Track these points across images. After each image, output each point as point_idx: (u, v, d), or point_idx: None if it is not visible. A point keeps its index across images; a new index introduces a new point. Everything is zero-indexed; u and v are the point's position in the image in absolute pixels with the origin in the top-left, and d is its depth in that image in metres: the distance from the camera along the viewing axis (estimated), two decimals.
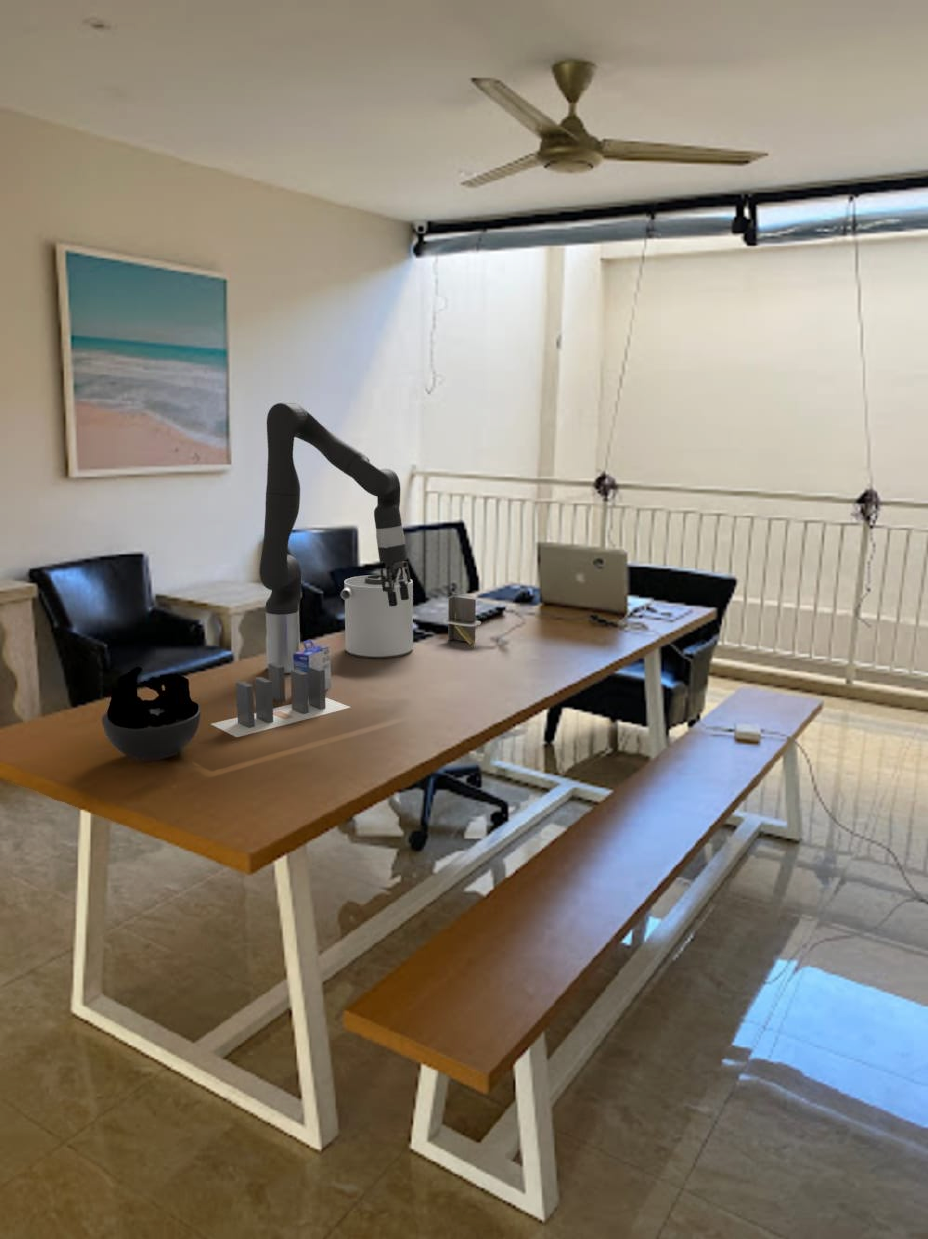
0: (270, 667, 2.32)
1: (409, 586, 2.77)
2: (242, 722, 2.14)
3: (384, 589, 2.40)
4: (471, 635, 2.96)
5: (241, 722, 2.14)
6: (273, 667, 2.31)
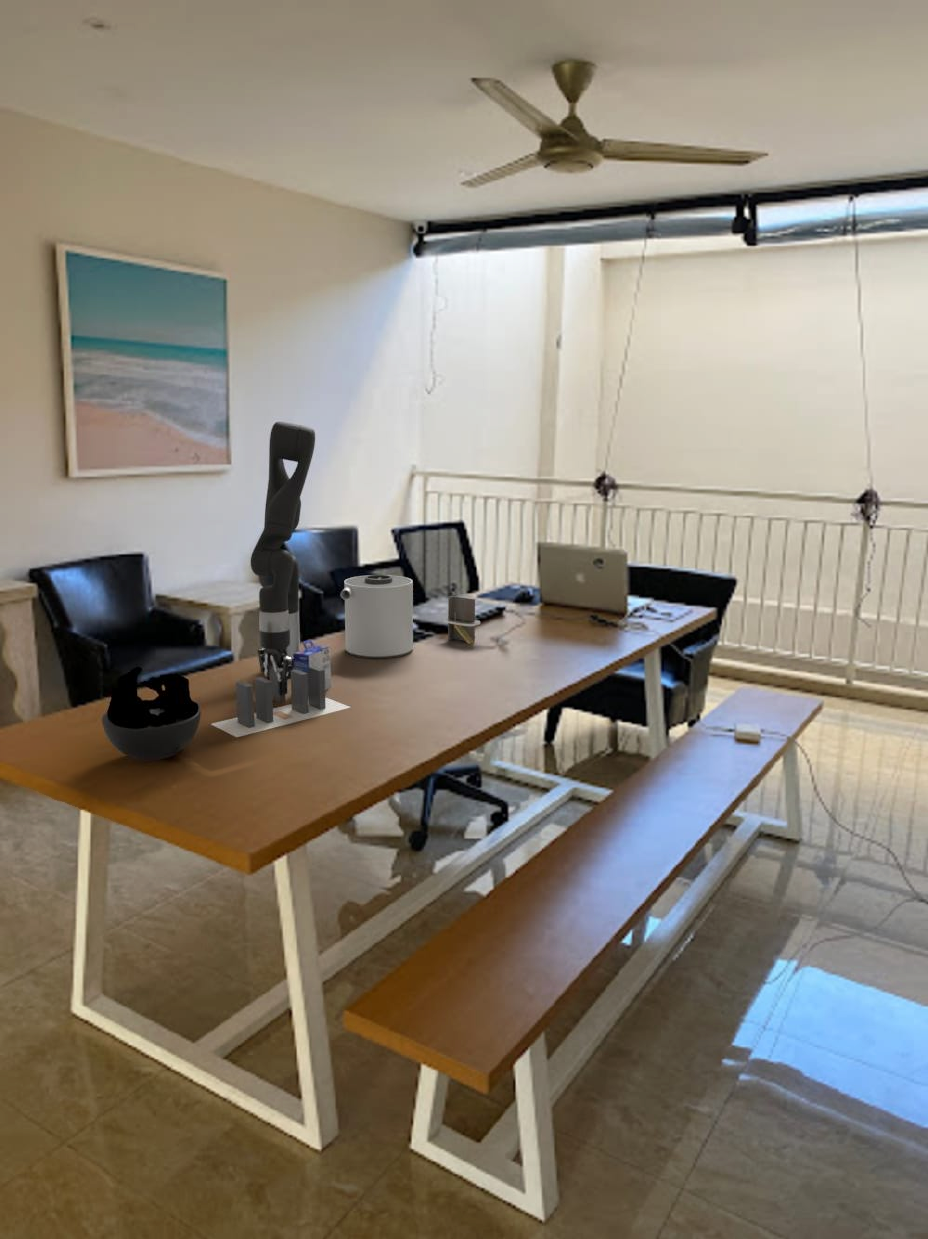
0: (270, 667, 2.32)
1: (409, 586, 2.77)
2: (242, 722, 2.14)
3: None
4: (471, 635, 2.97)
5: (241, 722, 2.14)
6: (273, 667, 2.31)
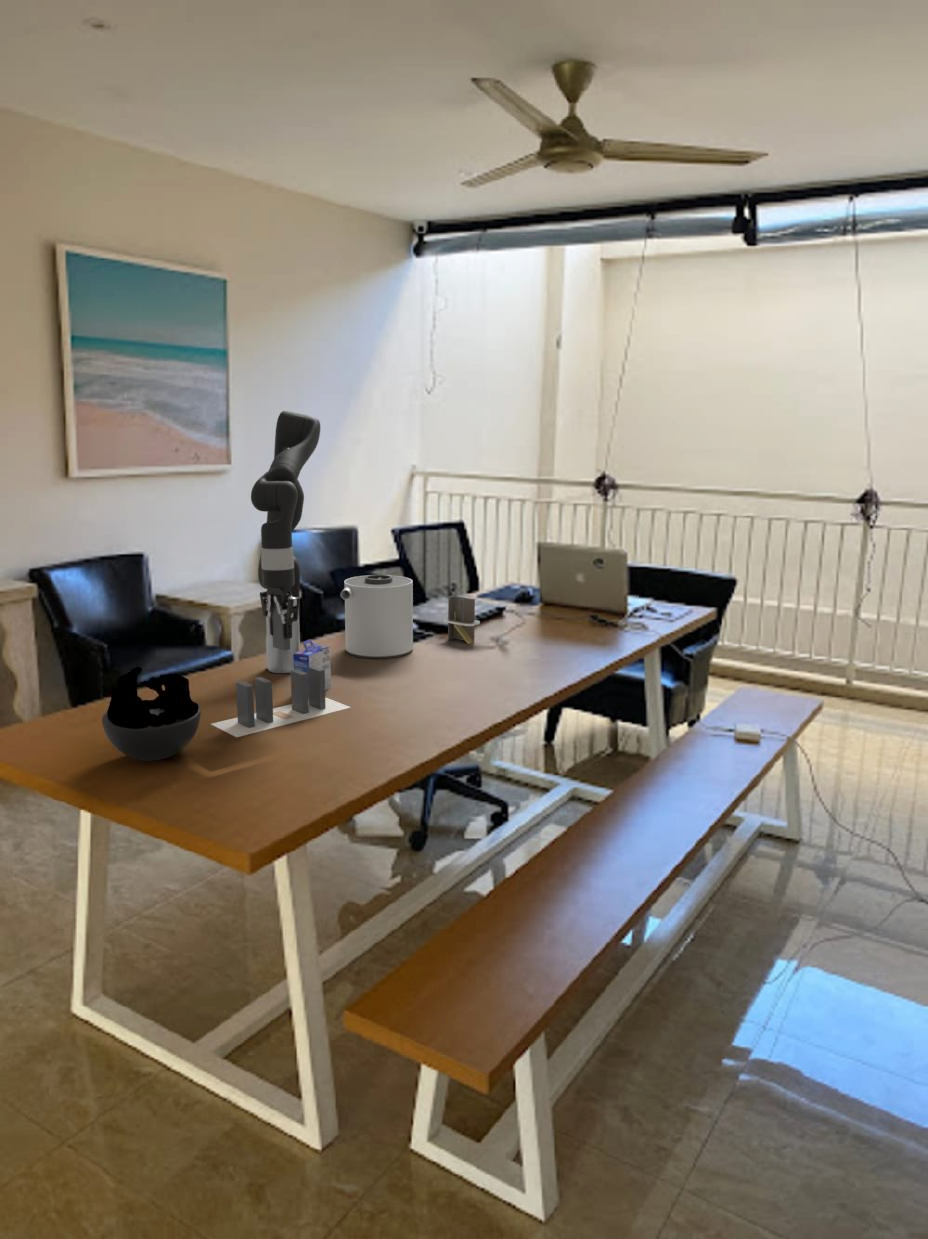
0: (273, 610, 2.17)
1: (409, 586, 2.77)
2: (242, 722, 2.14)
3: None
4: (470, 635, 2.97)
5: (241, 722, 2.14)
6: None
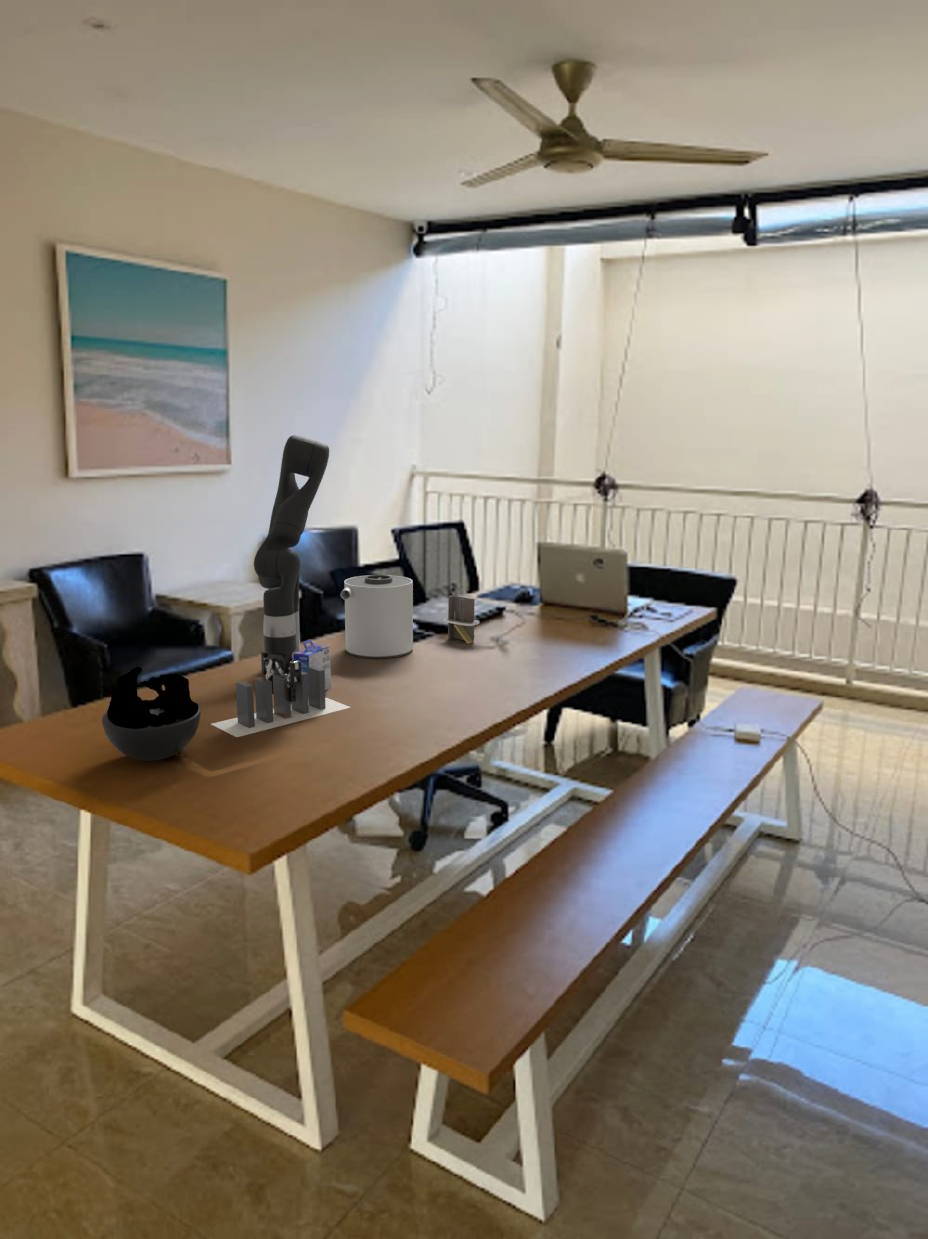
0: (275, 678, 2.19)
1: (409, 586, 2.77)
2: (242, 722, 2.14)
3: None
4: (470, 634, 2.97)
5: (241, 722, 2.14)
6: (278, 677, 2.18)
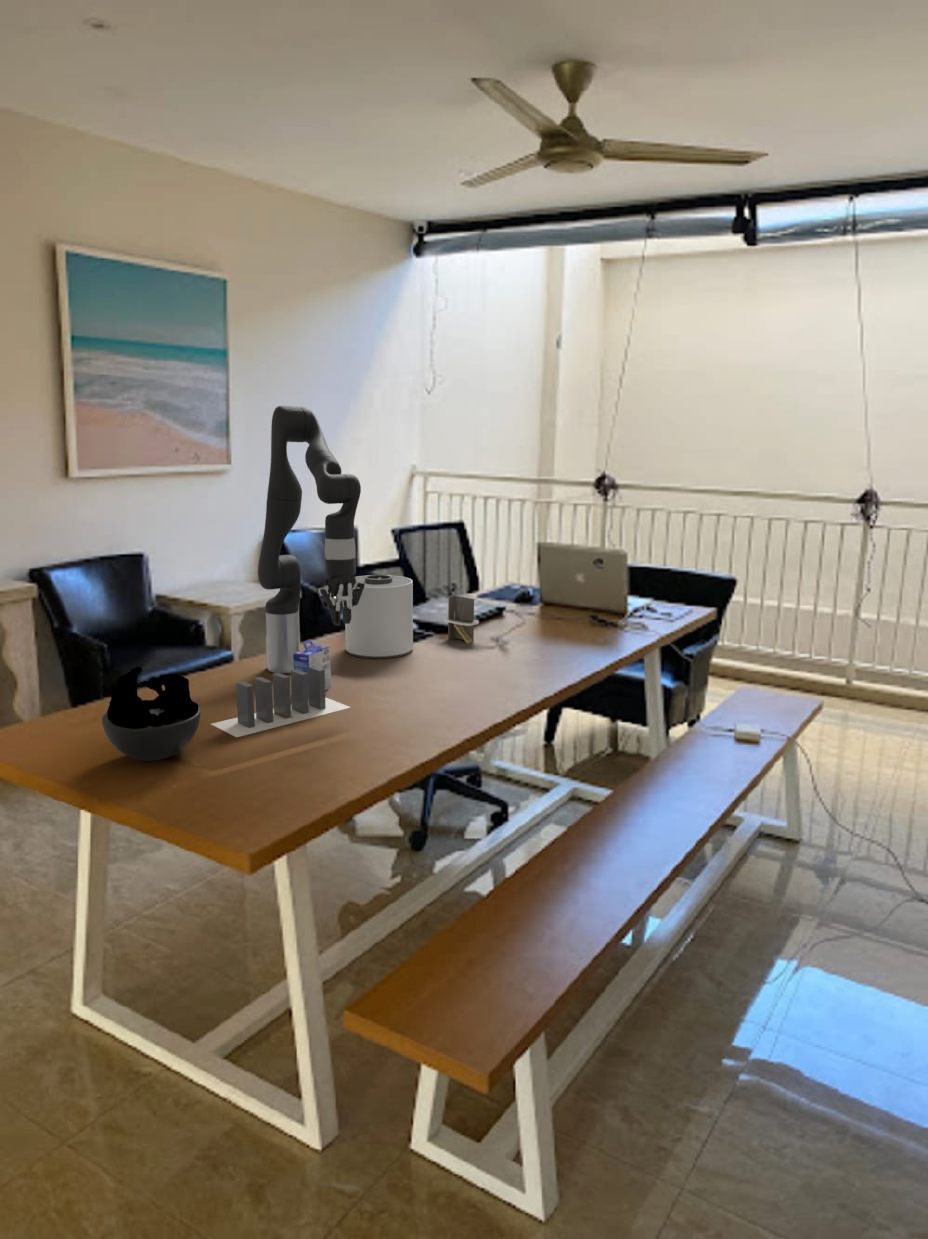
0: (275, 678, 2.19)
1: (409, 586, 2.77)
2: (242, 722, 2.14)
3: (325, 607, 2.25)
4: (470, 634, 2.97)
5: (241, 722, 2.14)
6: (278, 677, 2.18)
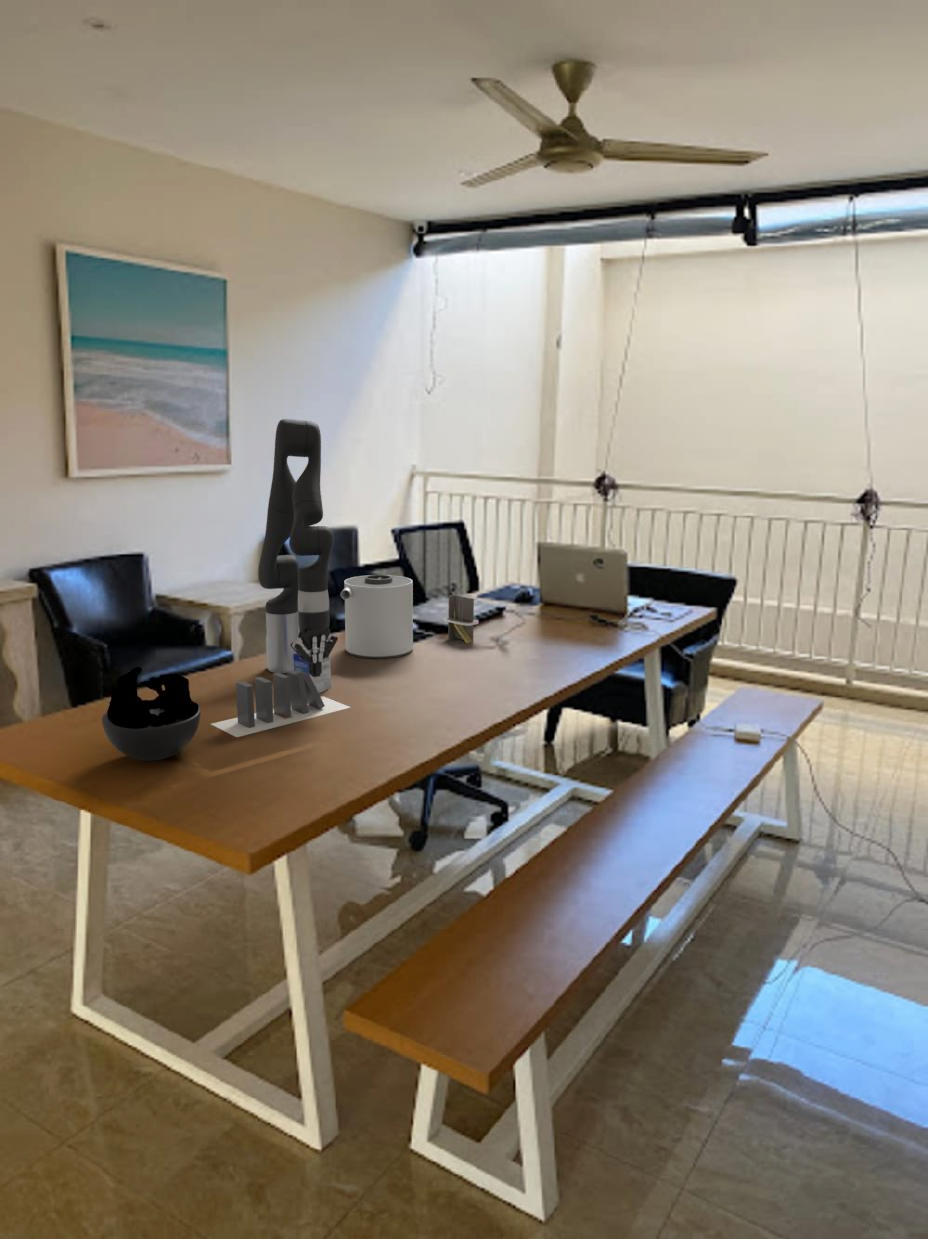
0: (275, 678, 2.19)
1: (409, 586, 2.77)
2: (242, 722, 2.14)
3: (303, 659, 2.23)
4: (469, 634, 2.98)
5: (241, 722, 2.14)
6: (278, 677, 2.18)
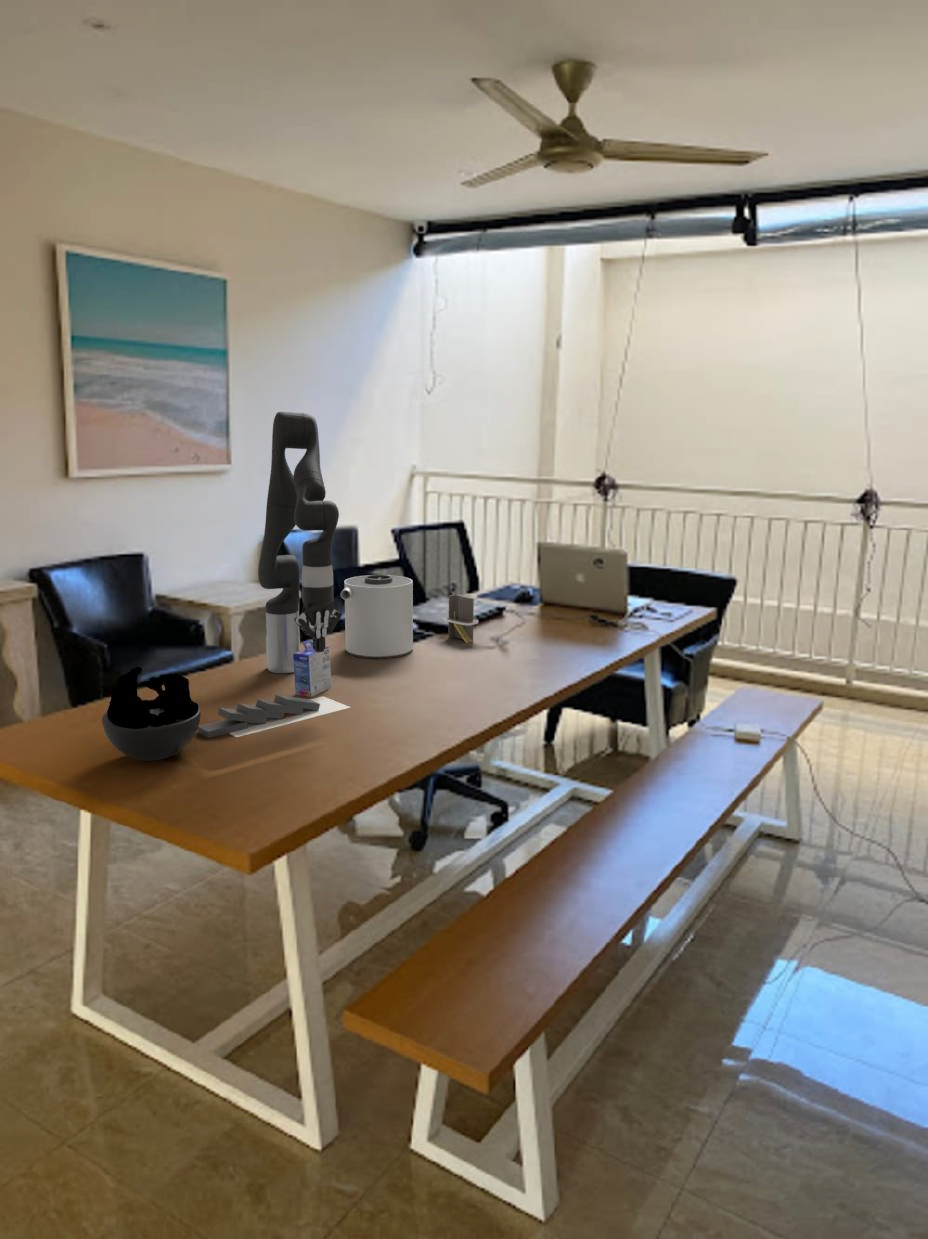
0: None
1: (409, 586, 2.77)
2: None
3: (306, 634, 2.23)
4: (469, 634, 2.98)
5: None
6: (243, 712, 2.13)
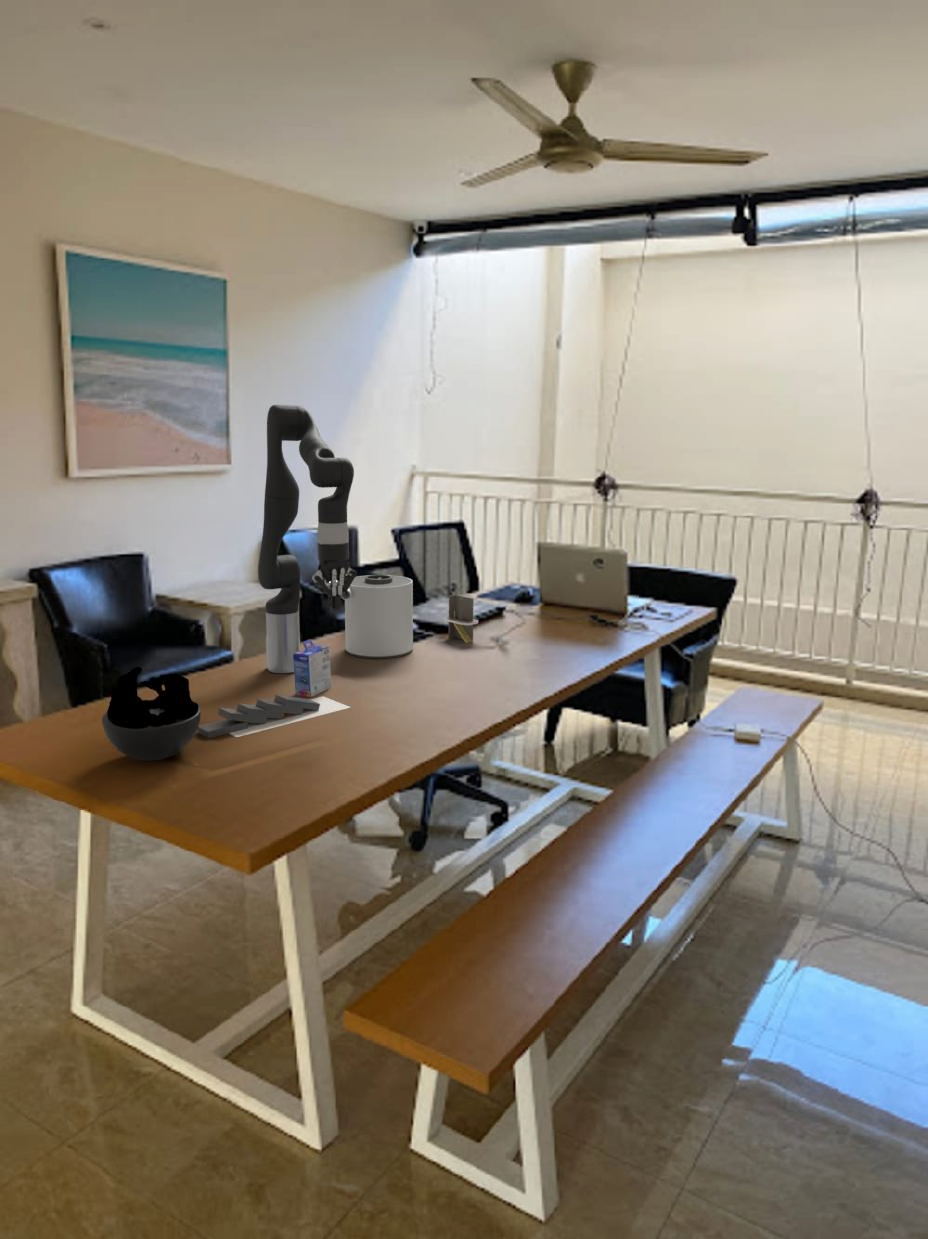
0: None
1: (409, 586, 2.77)
2: None
3: (322, 592, 2.24)
4: (469, 634, 2.98)
5: None
6: (243, 712, 2.13)
